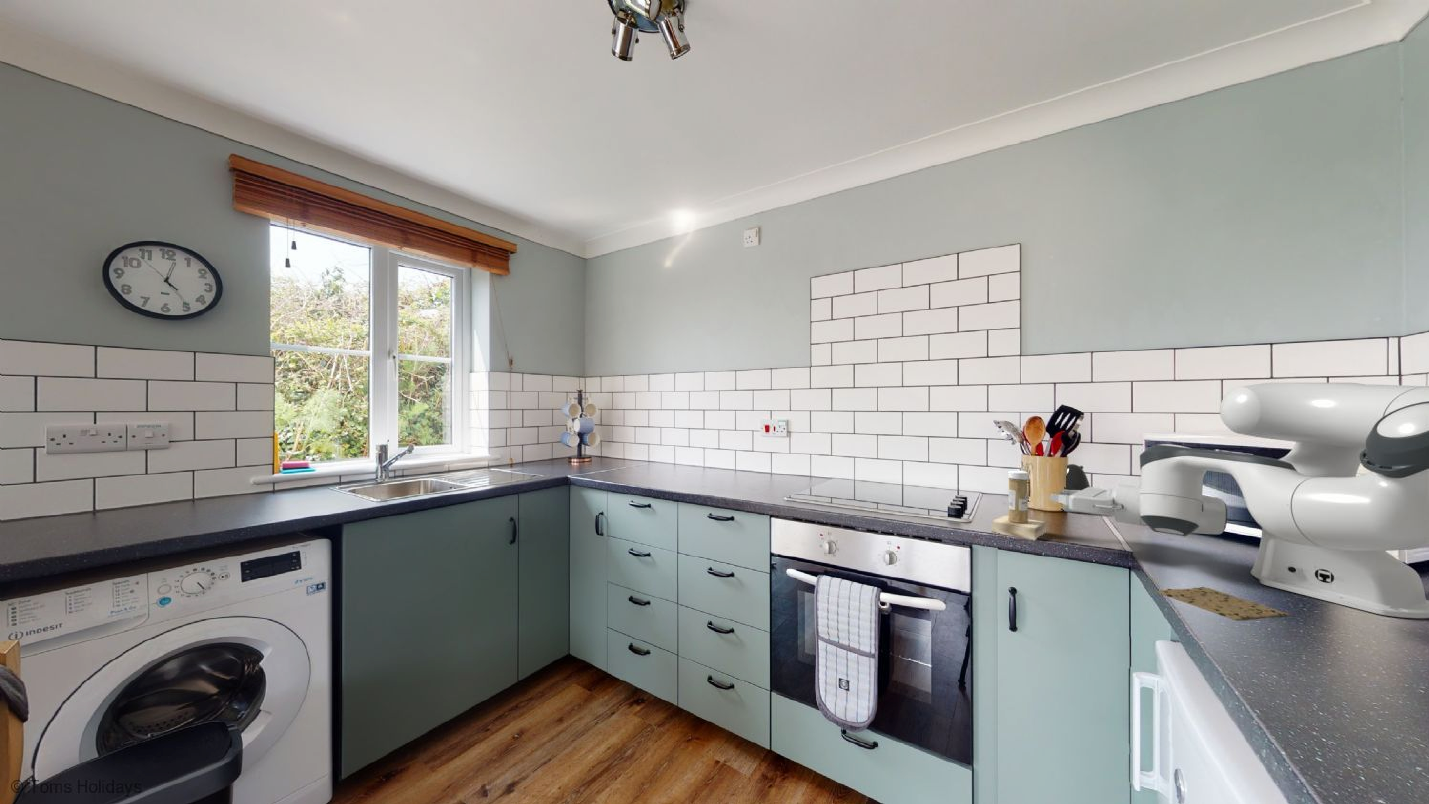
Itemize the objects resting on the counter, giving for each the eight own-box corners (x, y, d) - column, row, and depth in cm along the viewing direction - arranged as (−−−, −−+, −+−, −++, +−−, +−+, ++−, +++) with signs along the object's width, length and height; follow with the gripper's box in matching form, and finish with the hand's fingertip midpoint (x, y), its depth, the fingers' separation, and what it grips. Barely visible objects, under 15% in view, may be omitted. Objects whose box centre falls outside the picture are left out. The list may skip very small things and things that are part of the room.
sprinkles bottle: (1029, 524, 127) (1029, 472, 127) (1008, 522, 129) (1009, 471, 129) (1026, 520, 131) (1027, 470, 131) (1007, 518, 133) (1007, 469, 133)
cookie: (1294, 618, 80) (1294, 612, 80) (1236, 623, 78) (1236, 617, 78) (1207, 590, 92) (1207, 585, 92) (1155, 594, 90) (1155, 589, 90)
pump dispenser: (1099, 513, 155) (1100, 465, 155) (1080, 516, 150) (1081, 466, 150) (1064, 506, 164) (1065, 461, 164) (1046, 509, 159) (1046, 463, 159)
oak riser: (1045, 533, 130) (1045, 522, 130) (1035, 540, 123) (1035, 528, 123) (1003, 526, 137) (1003, 515, 137) (991, 532, 130) (991, 521, 130)
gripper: (1118, 524, 107) (1044, 513, 117) (1132, 511, 120) (1065, 502, 131) (1118, 495, 107) (1044, 486, 117) (1133, 486, 120) (1066, 479, 131)
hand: (1055, 495), depth 124 cm, fingers open, 8 cm apart
